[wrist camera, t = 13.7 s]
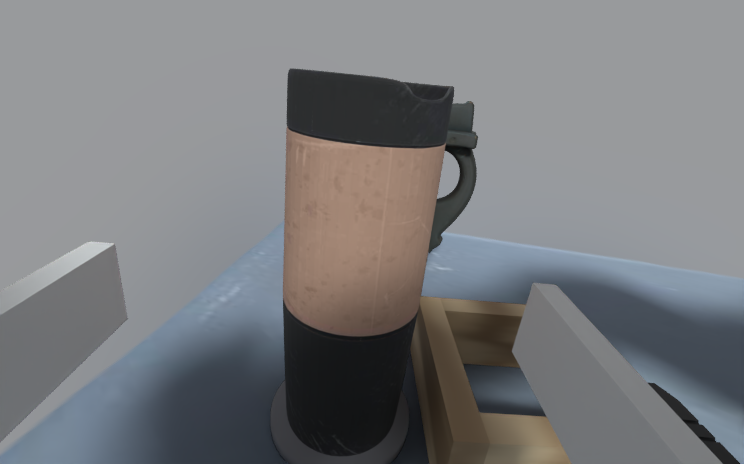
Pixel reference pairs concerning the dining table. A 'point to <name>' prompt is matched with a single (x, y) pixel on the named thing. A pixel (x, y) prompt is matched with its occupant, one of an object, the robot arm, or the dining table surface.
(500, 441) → the frame
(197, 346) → the dining table surface
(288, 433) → the coaster
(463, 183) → the beer stein
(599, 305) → the dining table surface
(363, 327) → the travel mug
